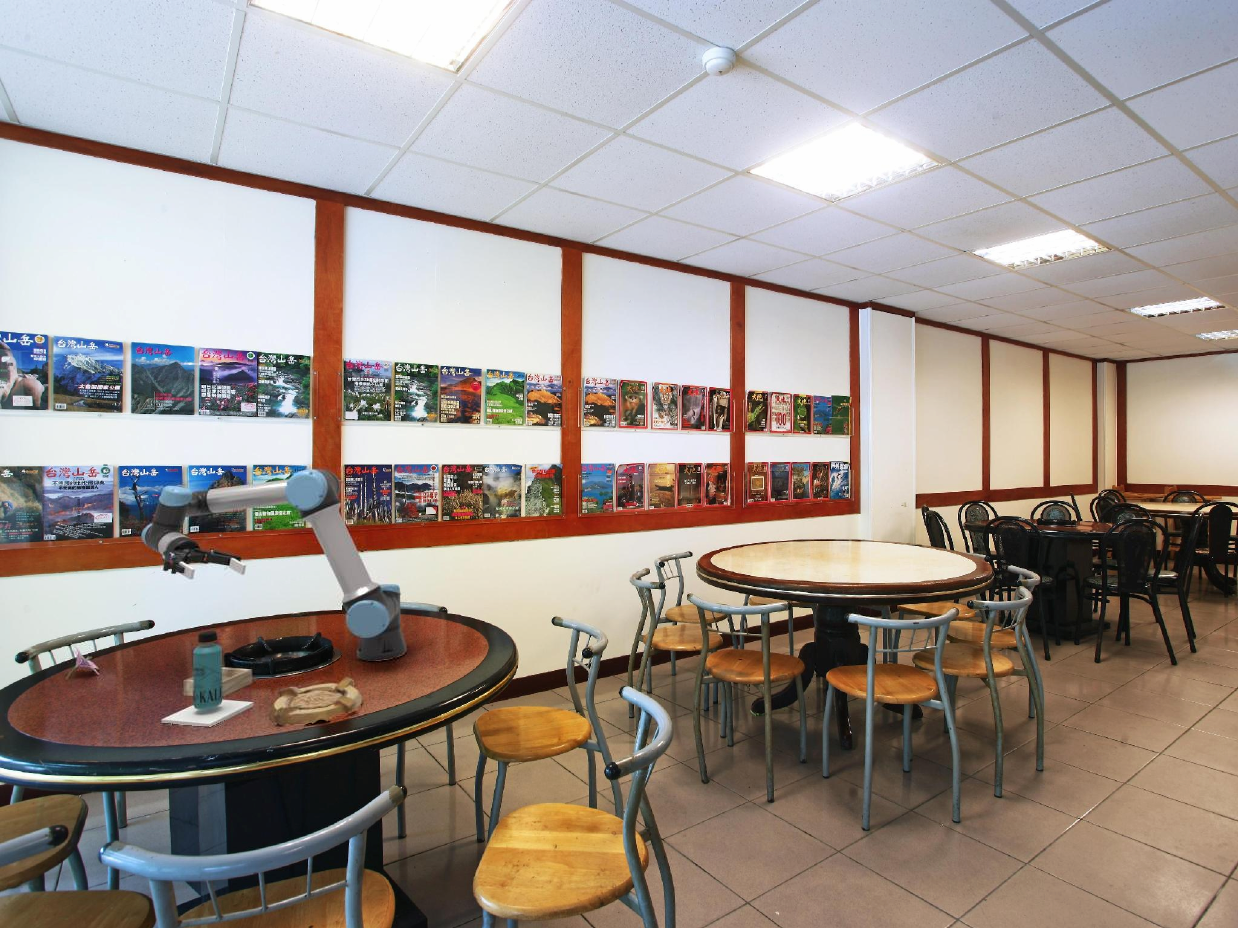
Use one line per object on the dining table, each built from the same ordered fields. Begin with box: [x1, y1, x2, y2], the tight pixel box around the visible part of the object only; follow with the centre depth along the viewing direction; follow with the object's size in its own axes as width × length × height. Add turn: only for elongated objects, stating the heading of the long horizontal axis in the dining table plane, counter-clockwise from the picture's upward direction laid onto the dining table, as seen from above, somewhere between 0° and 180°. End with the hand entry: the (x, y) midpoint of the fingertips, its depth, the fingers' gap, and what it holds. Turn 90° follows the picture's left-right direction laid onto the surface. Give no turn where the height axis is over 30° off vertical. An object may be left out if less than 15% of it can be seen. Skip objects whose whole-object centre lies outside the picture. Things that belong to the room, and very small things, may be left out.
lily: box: [65, 642, 100, 680], centre depth 196 cm, size 12×12×10 cm
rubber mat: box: [161, 699, 254, 728], centre depth 167 cm, size 14×14×1 cm
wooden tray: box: [183, 666, 253, 698], centre depth 185 cm, size 12×12×4 cm
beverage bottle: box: [192, 630, 224, 709], centre depth 167 cm, size 6×7×20 cm
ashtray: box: [268, 676, 363, 726], centre depth 171 cm, size 24×24×5 cm
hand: (219, 572), depth 179 cm, fingers open, 13 cm apart
